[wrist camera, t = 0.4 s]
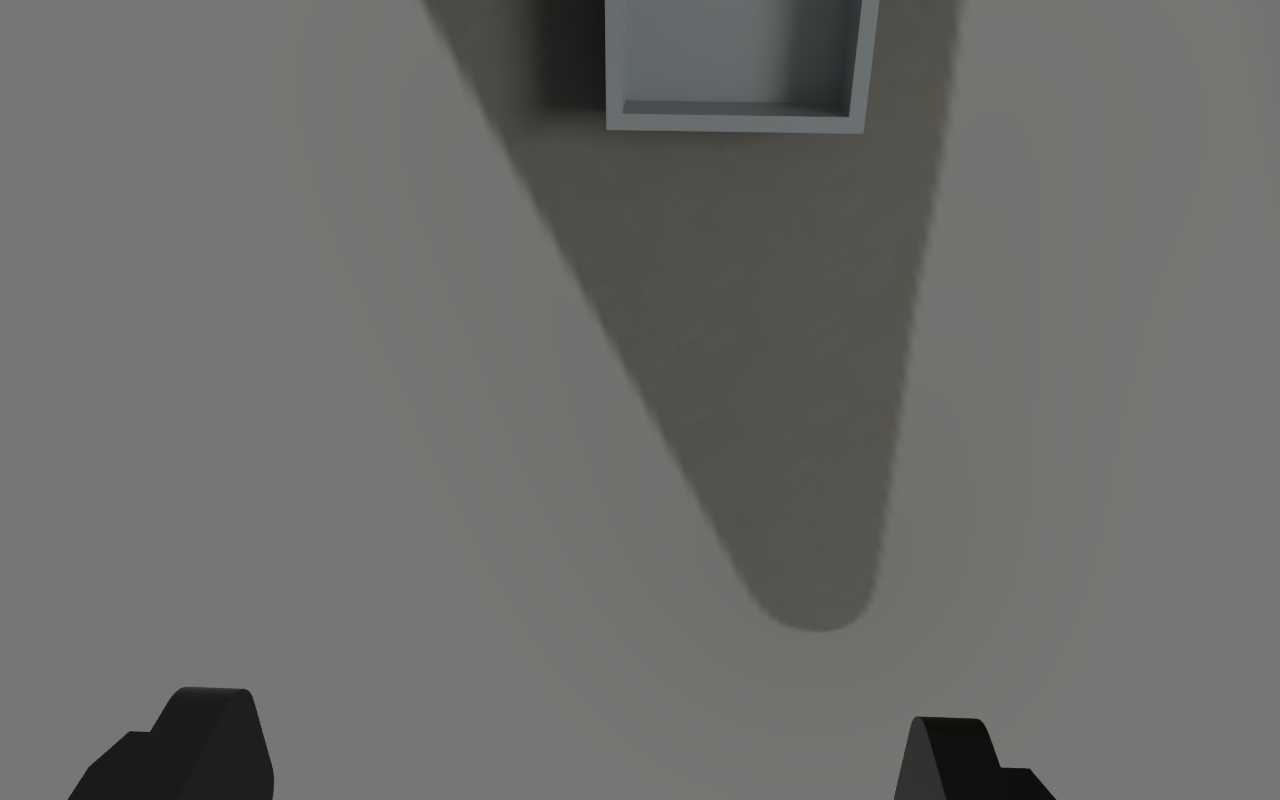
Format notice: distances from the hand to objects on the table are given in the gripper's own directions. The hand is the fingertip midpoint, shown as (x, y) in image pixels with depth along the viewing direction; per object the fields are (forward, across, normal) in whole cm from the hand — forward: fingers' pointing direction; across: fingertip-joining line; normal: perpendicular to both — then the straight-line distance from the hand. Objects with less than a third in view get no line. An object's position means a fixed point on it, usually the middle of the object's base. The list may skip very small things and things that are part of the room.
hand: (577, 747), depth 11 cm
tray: (+24, -3, -6) cm, 25 cm away
